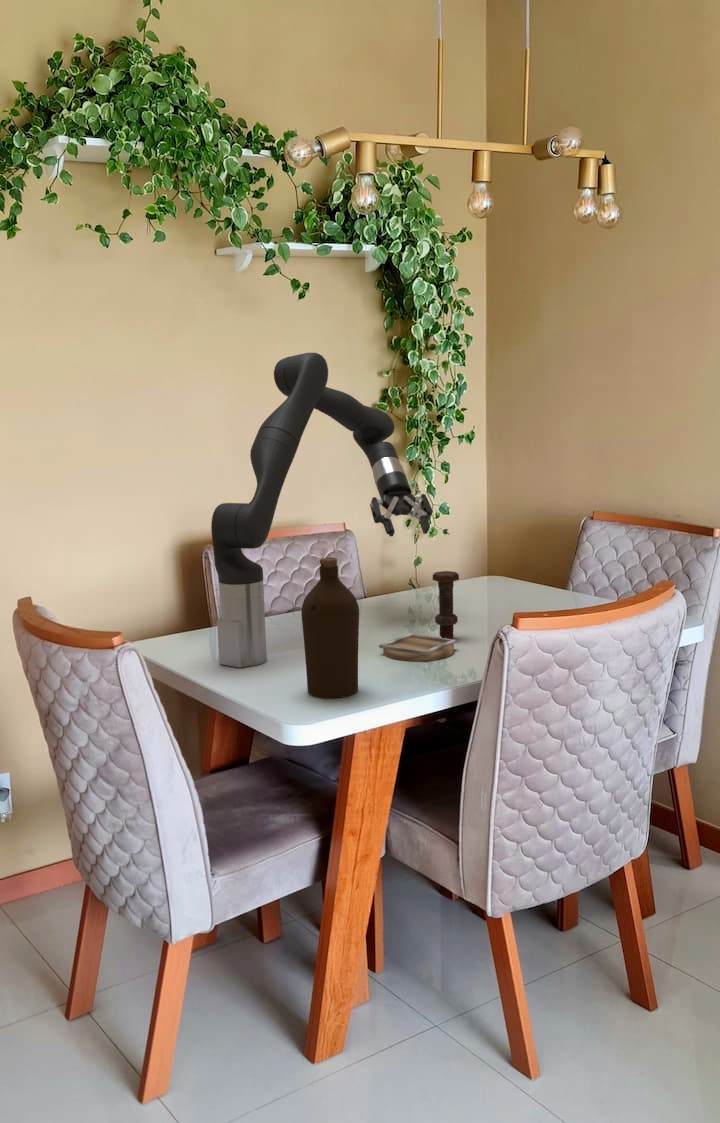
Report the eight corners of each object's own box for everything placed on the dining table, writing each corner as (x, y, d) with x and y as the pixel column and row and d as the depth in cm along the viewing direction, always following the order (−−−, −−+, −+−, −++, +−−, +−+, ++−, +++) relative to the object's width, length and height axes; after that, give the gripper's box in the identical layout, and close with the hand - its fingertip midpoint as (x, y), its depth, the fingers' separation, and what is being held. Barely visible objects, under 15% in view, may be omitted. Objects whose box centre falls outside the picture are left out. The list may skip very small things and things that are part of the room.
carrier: (429, 664, 200) (429, 654, 200) (369, 655, 209) (369, 645, 209) (466, 648, 212) (466, 639, 212) (408, 640, 221) (408, 631, 221)
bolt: (459, 636, 224) (458, 570, 221) (459, 641, 219) (458, 574, 216) (433, 636, 224) (432, 571, 222) (433, 641, 219) (432, 575, 217)
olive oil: (359, 699, 179) (355, 563, 175) (300, 699, 179) (295, 564, 175) (363, 683, 189) (359, 553, 185) (308, 683, 190) (303, 554, 186)
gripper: (366, 471, 234) (384, 525, 225) (422, 468, 239) (442, 520, 230) (359, 492, 240) (377, 545, 231) (414, 488, 245) (433, 540, 236)
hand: (409, 533), depth 231 cm, fingers open, 8 cm apart
